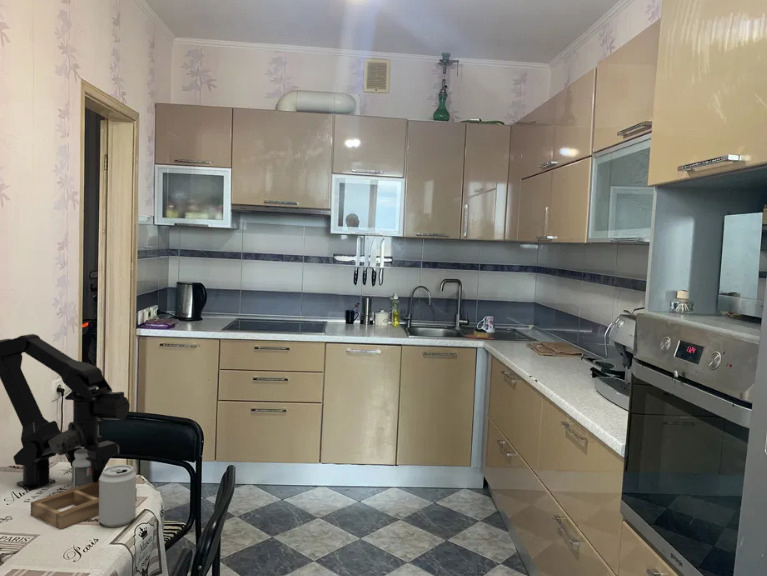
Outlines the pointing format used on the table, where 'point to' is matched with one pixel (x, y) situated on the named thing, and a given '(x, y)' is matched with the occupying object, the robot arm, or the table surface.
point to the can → (117, 495)
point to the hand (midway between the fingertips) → (86, 478)
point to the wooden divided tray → (78, 496)
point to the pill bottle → (81, 469)
